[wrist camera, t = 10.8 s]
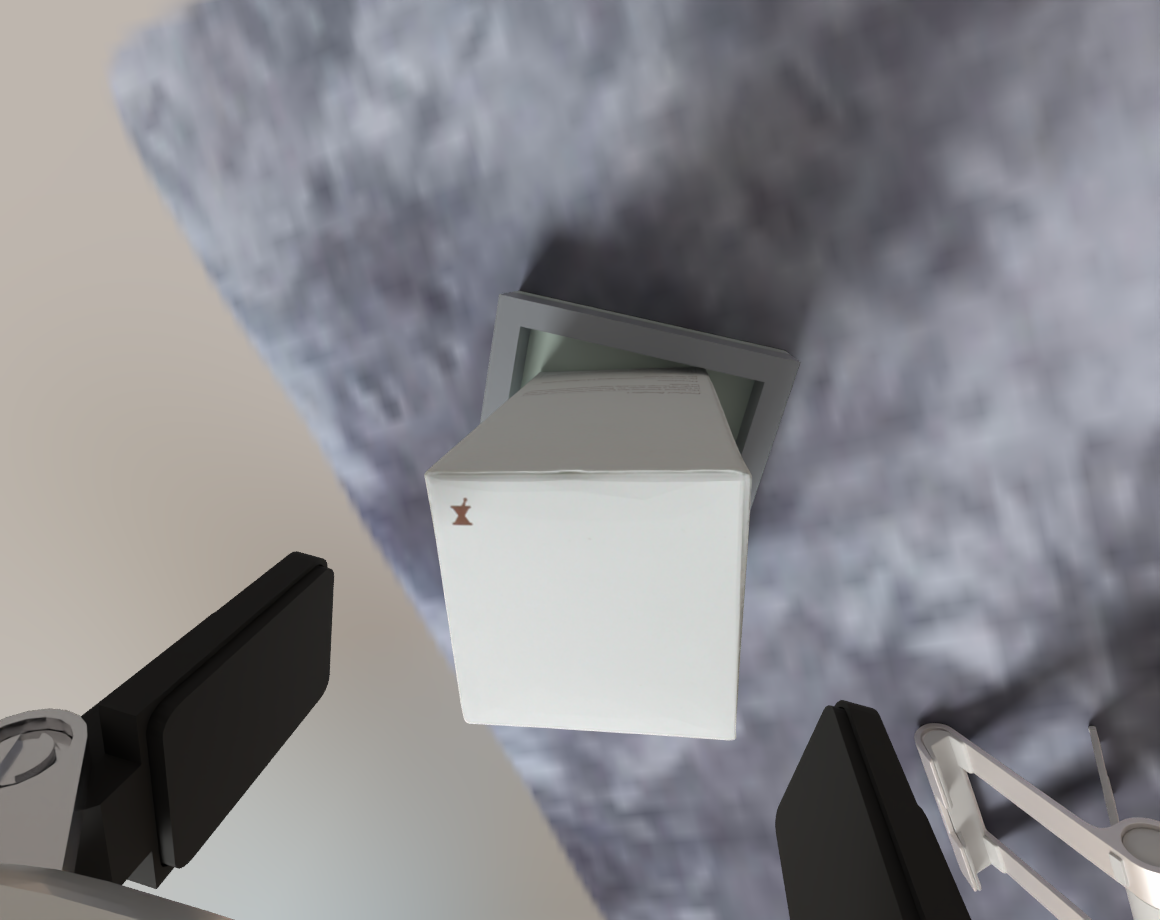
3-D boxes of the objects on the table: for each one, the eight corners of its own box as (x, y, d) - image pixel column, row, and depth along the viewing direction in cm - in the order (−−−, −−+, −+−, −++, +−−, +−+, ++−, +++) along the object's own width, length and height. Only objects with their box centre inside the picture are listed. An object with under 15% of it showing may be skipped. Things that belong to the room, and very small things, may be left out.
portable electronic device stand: (907, 726, 29) (995, 899, 21) (1084, 688, 27) (1254, 863, 19) (951, 850, 31) (1046, 1049, 23) (1119, 824, 29) (1285, 1032, 21)
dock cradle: (518, 290, 25) (499, 294, 22) (785, 350, 24) (800, 362, 21) (481, 525, 29) (460, 554, 26) (708, 584, 28) (712, 620, 25)
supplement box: (547, 525, 27) (451, 729, 15) (536, 367, 25) (413, 464, 13) (708, 529, 26) (740, 753, 14) (713, 364, 24) (755, 466, 12)
